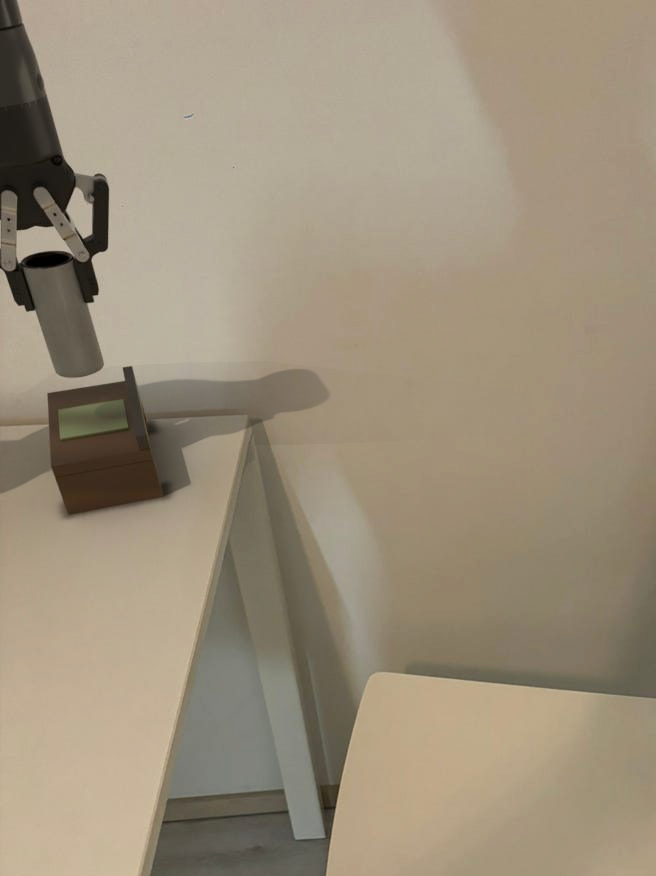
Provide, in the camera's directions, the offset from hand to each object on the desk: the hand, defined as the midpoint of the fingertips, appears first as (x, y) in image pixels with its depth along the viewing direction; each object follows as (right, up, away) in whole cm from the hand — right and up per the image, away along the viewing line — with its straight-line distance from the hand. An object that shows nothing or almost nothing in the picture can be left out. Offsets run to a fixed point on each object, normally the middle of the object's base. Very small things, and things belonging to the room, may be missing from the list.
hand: (59, 303), depth 86 cm
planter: (0, -5, +4) cm, 7 cm away
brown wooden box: (0, -13, +12) cm, 18 cm away
